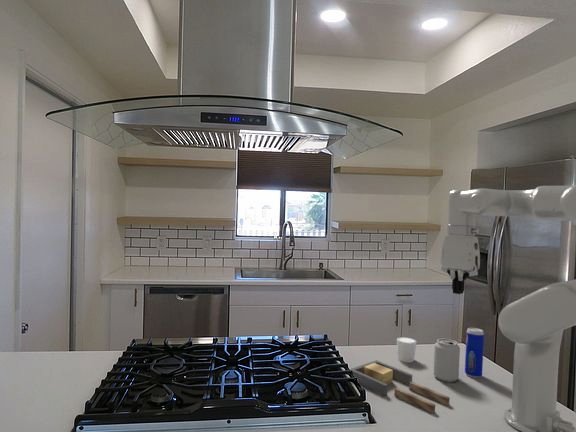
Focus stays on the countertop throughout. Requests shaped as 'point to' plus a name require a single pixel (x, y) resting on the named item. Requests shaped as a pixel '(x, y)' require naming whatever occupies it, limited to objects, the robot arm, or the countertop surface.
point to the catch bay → (377, 384)
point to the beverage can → (474, 352)
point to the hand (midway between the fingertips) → (458, 293)
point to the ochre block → (379, 373)
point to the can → (446, 360)
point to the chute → (419, 401)
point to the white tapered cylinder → (406, 349)
